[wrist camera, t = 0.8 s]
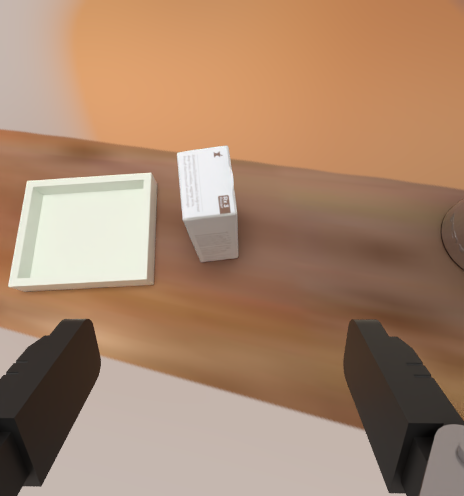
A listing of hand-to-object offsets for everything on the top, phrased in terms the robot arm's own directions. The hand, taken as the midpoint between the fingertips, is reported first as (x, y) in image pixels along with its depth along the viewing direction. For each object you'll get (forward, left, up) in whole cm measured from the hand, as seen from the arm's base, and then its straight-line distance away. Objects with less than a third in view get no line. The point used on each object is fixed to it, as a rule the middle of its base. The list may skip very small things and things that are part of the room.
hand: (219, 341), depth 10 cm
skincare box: (+2, -12, -23) cm, 26 cm away
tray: (+16, -13, -23) cm, 31 cm away
